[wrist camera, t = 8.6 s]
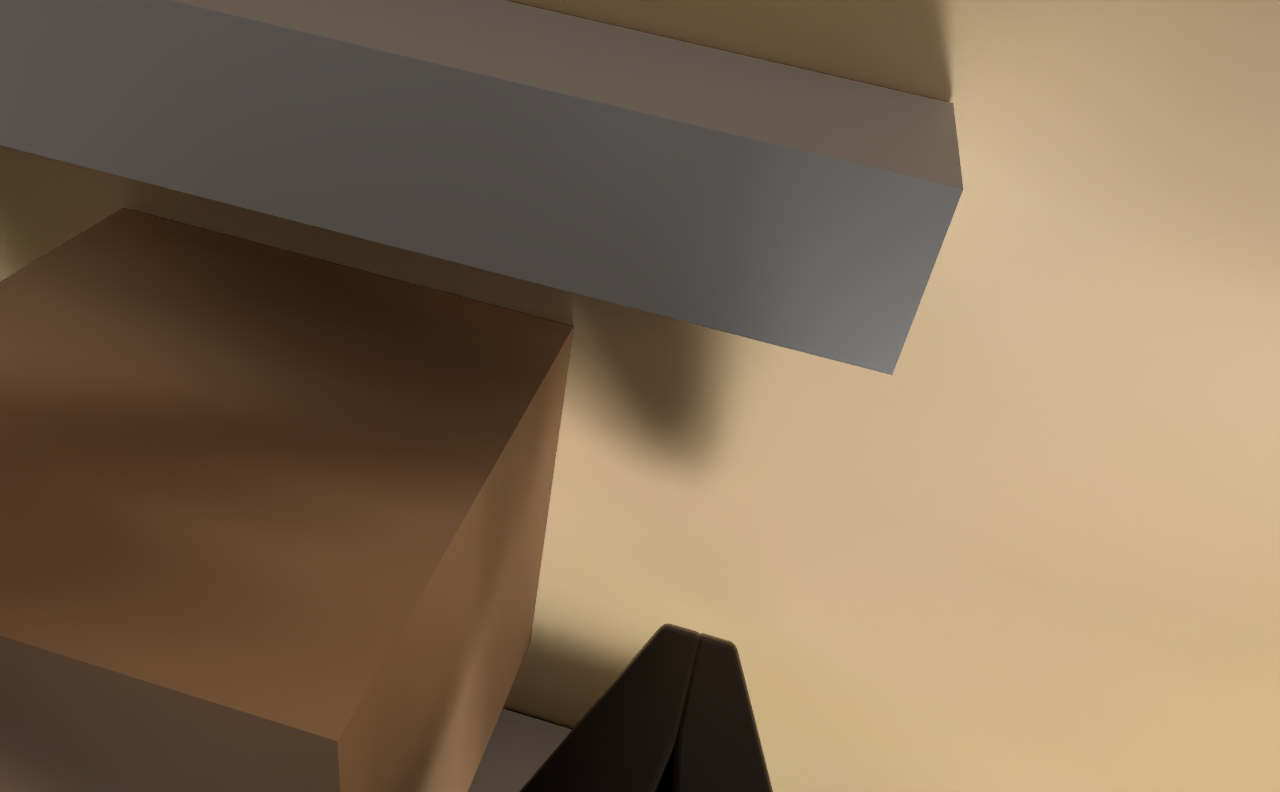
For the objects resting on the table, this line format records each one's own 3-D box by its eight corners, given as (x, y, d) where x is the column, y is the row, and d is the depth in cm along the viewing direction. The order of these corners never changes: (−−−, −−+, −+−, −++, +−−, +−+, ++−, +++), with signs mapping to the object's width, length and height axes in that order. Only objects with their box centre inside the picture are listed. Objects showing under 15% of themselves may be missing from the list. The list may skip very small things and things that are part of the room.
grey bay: (953, 103, 8) (962, 190, 6) (694, 829, 14) (670, 954, 13) (-302, -185, 9) (-542, -170, 7) (-11, 613, 15) (-107, 705, 14)
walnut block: (573, 325, 10) (338, 741, 6) (529, 643, 13) (353, 1064, 9) (123, 208, 10) (-386, 515, 6) (181, 540, 13) (-139, 894, 9)
